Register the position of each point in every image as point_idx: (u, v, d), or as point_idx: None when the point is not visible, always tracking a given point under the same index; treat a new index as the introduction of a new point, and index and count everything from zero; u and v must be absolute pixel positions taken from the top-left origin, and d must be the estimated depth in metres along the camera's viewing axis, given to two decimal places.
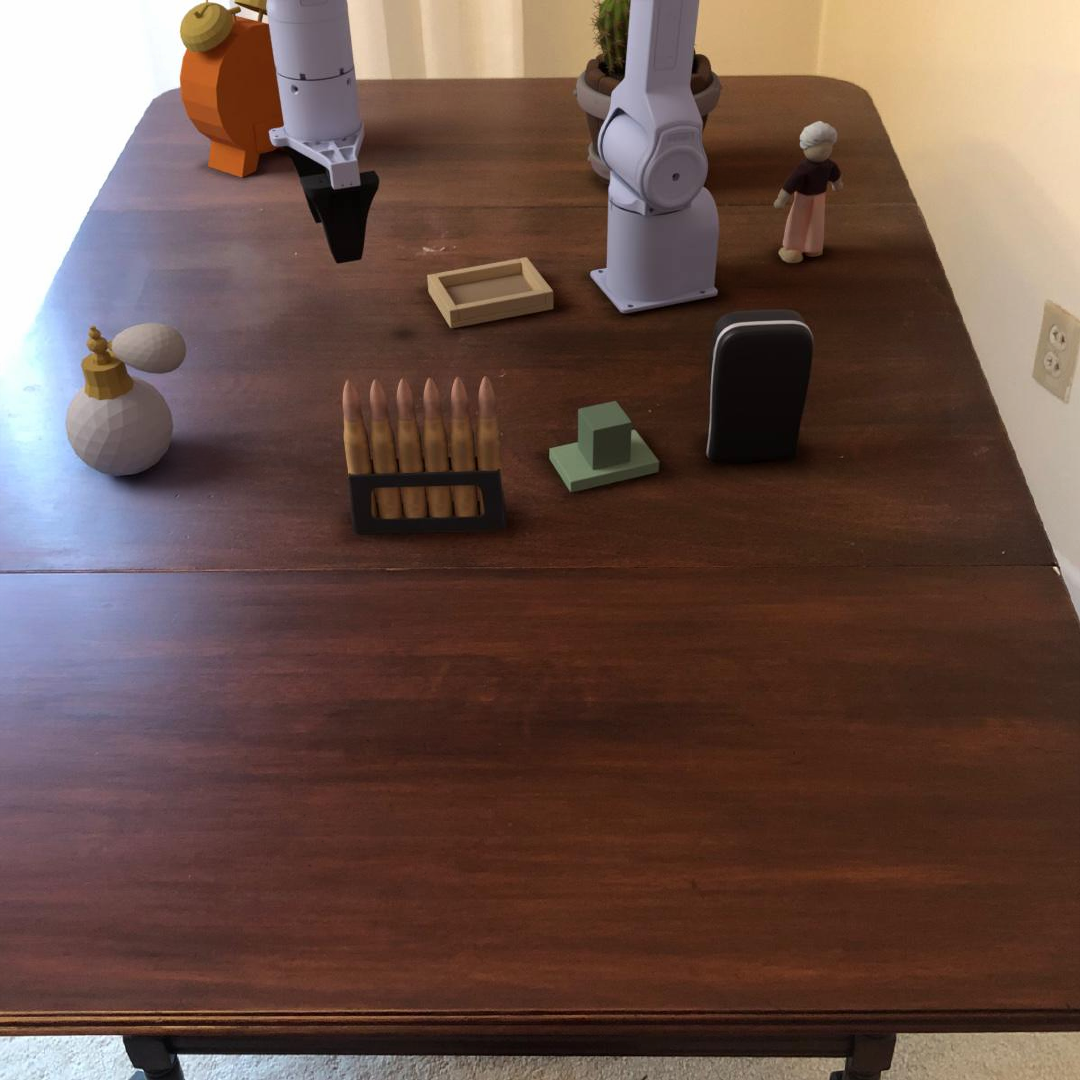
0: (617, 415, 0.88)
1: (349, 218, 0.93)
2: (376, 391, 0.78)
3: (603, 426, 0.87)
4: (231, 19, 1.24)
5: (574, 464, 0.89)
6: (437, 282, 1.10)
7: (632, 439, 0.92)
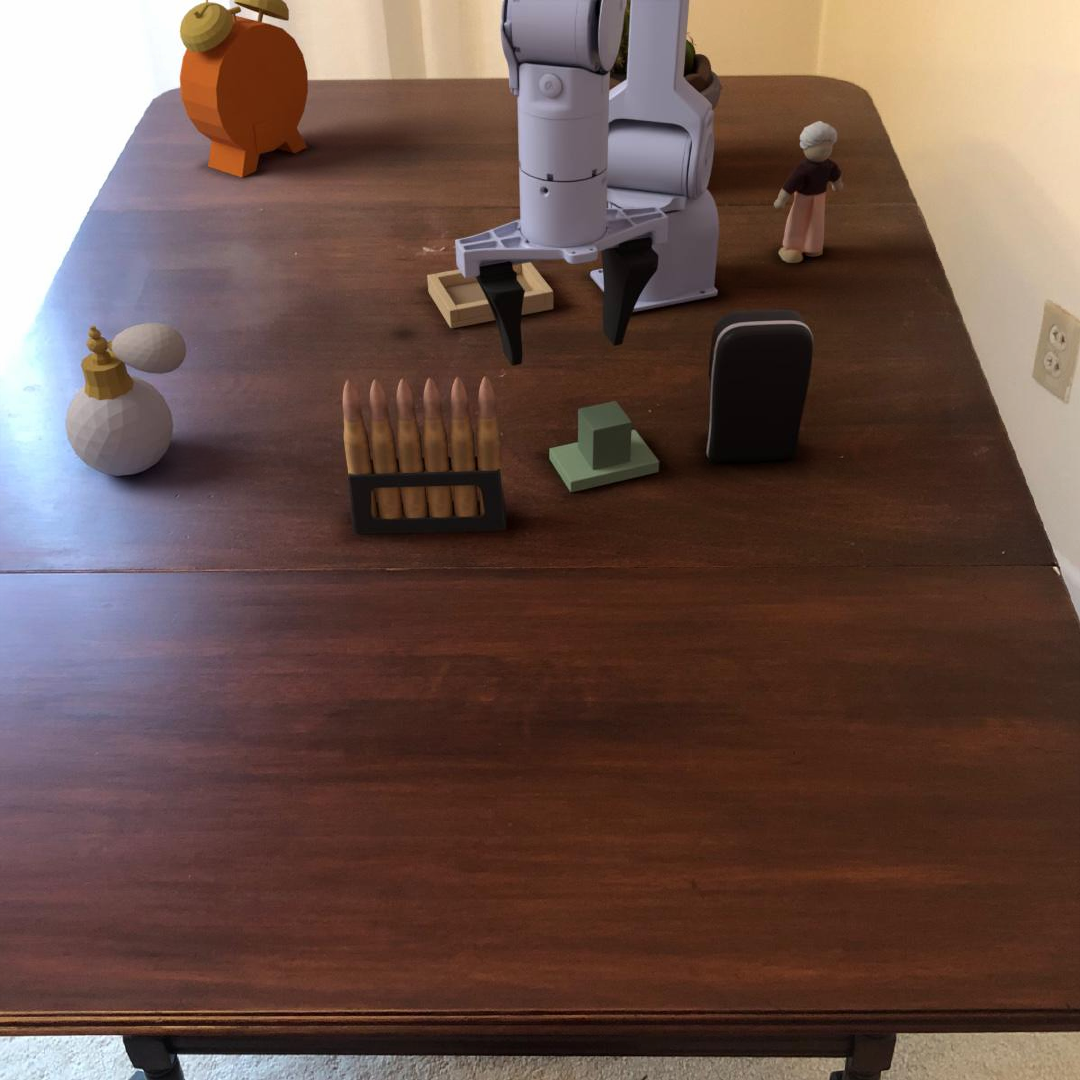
0: (617, 415, 0.88)
1: None
2: (376, 391, 0.78)
3: (603, 426, 0.87)
4: (231, 19, 1.24)
5: (574, 464, 0.89)
6: (437, 282, 1.10)
7: (632, 439, 0.92)
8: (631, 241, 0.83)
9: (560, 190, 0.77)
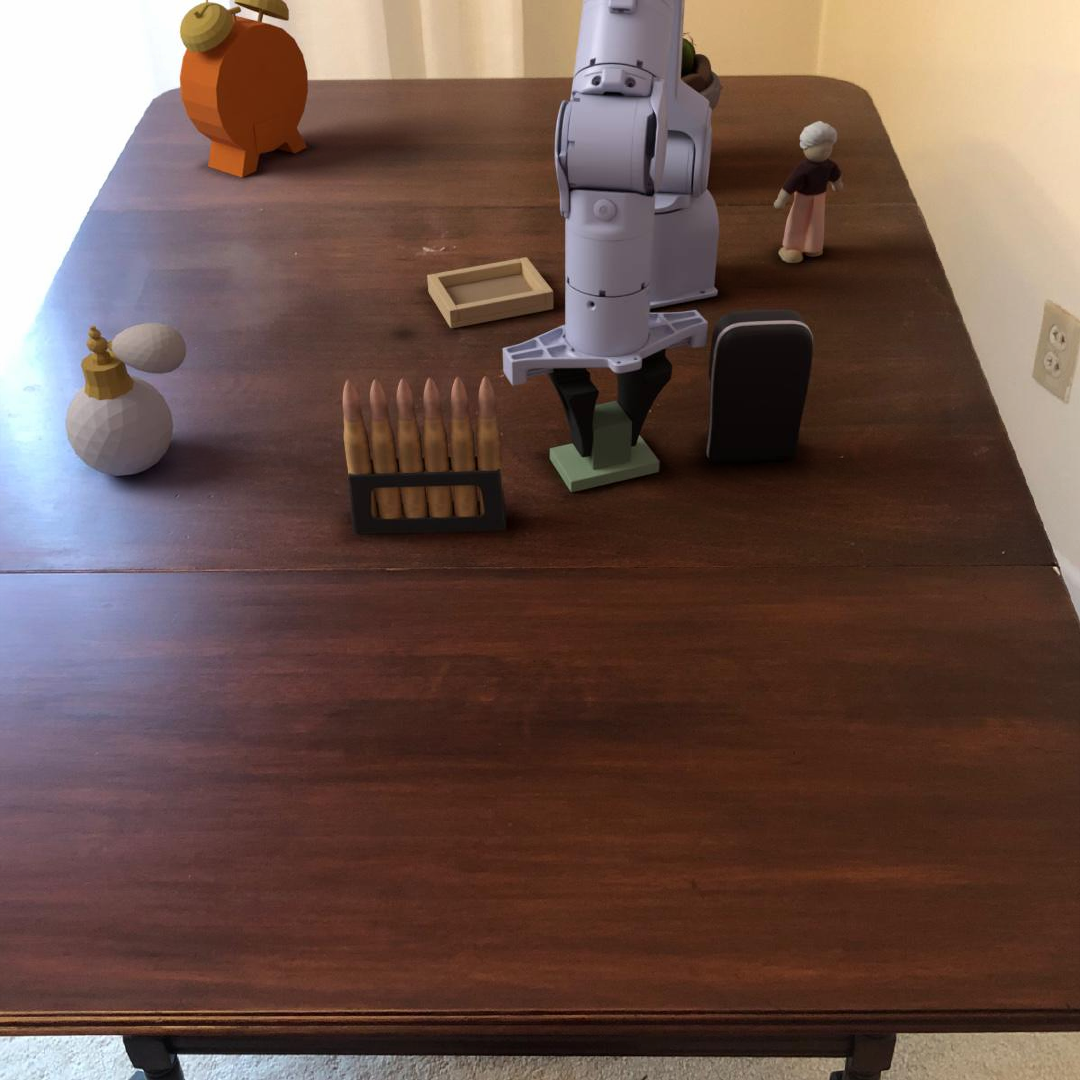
0: (617, 415, 0.88)
1: None
2: (376, 391, 0.78)
3: (603, 426, 0.87)
4: (231, 19, 1.24)
5: (574, 464, 0.89)
6: (437, 282, 1.10)
7: None
8: None
9: (606, 304, 0.79)
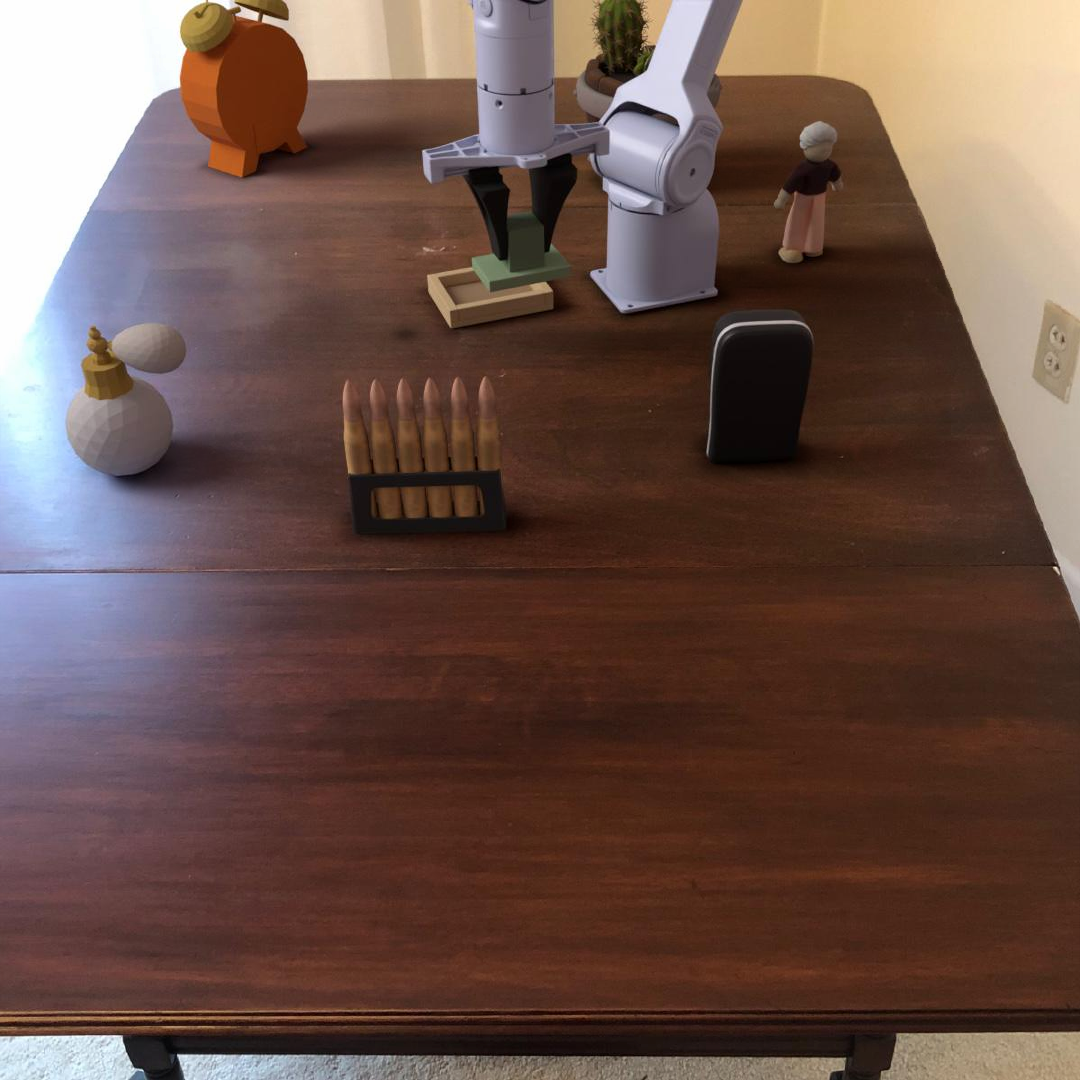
0: (531, 221, 0.97)
1: None
2: (377, 391, 0.78)
3: (517, 229, 0.96)
4: (231, 19, 1.24)
5: (493, 268, 0.98)
6: (437, 282, 1.10)
7: None
8: (553, 156, 0.94)
9: (513, 102, 0.88)
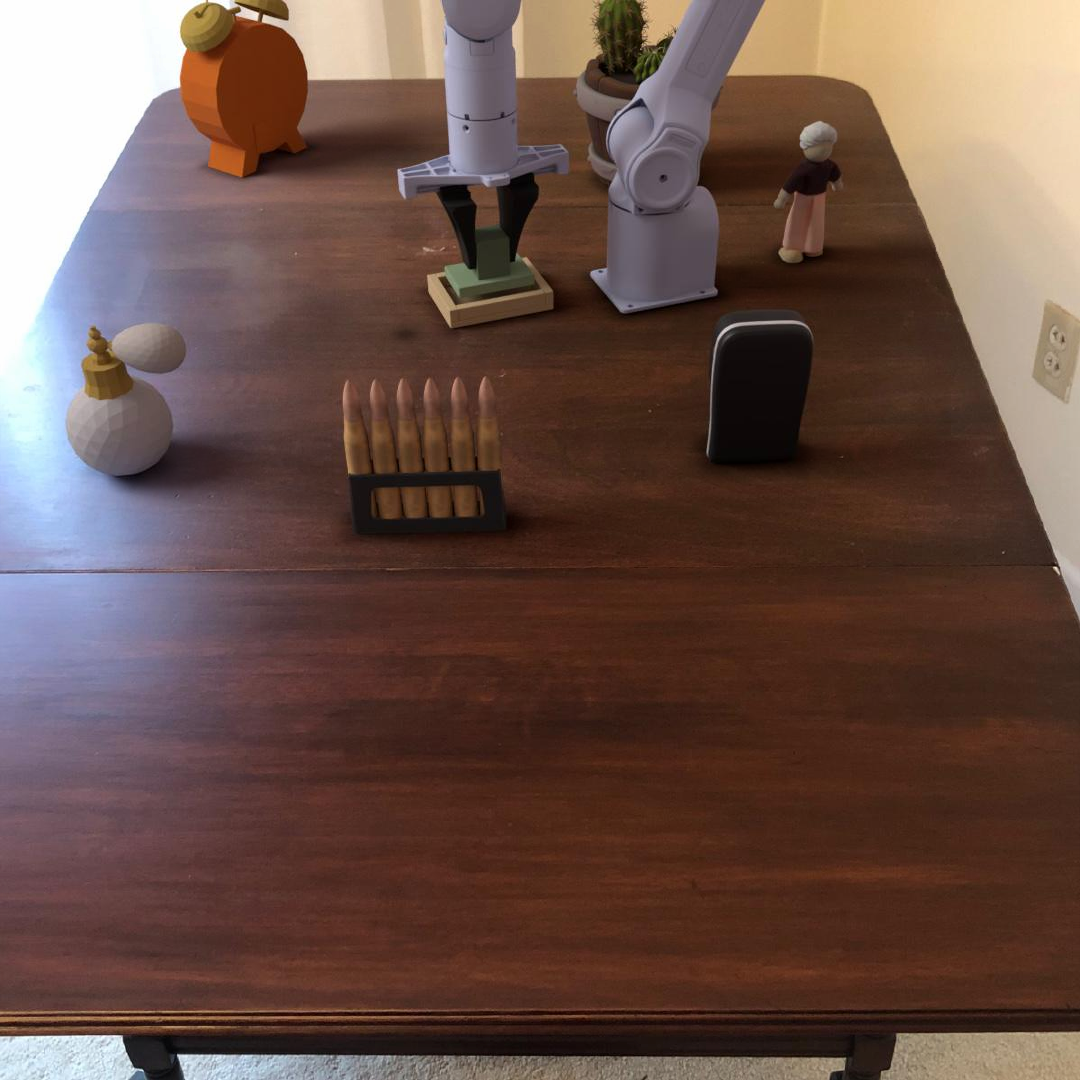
0: (498, 233, 1.06)
1: None
2: (377, 391, 0.78)
3: (484, 241, 1.05)
4: (231, 19, 1.24)
5: (463, 276, 1.08)
6: (437, 282, 1.10)
7: None
8: (517, 175, 1.03)
9: (478, 127, 0.98)
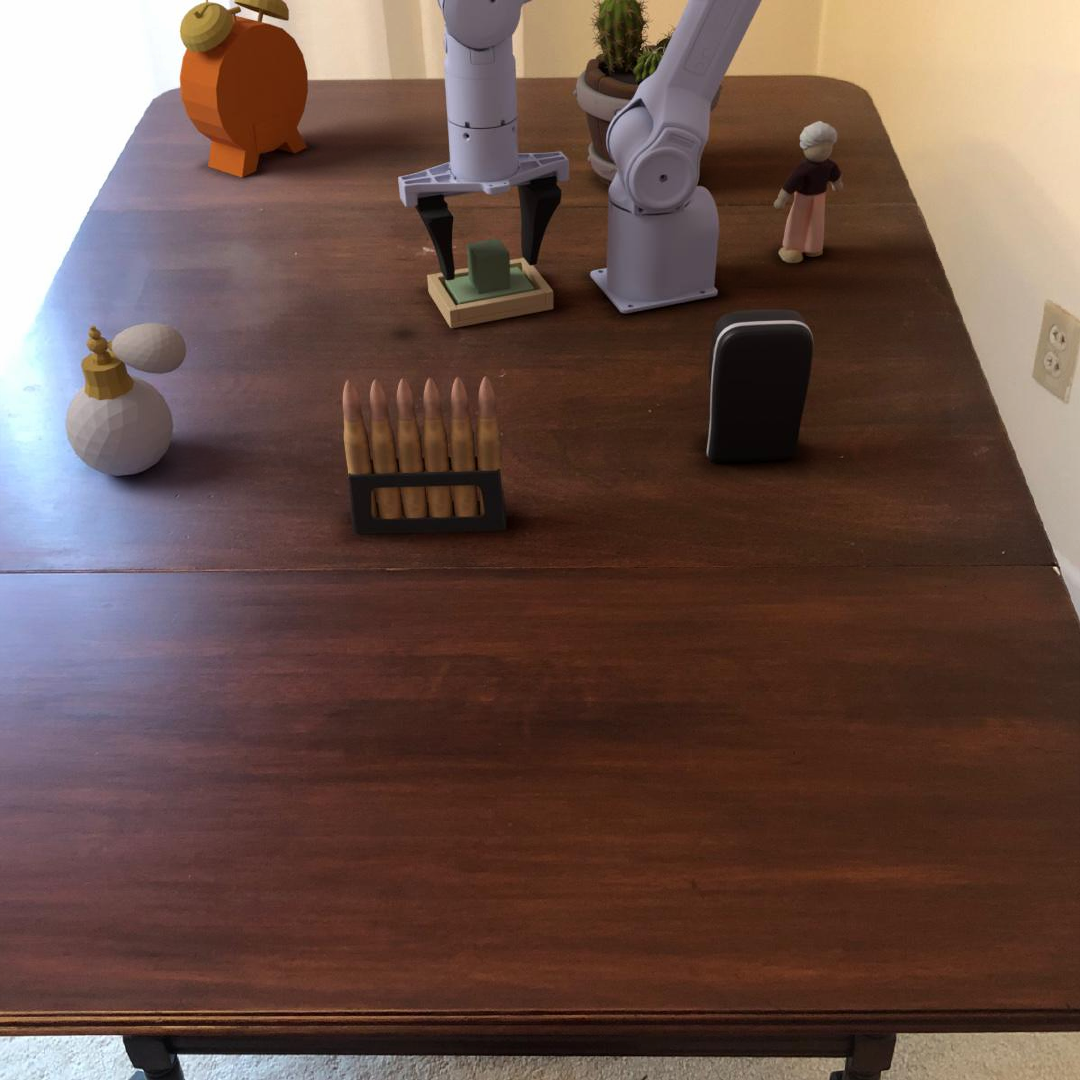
0: (498, 247, 1.07)
1: None
2: (377, 391, 0.78)
3: (485, 255, 1.06)
4: (231, 19, 1.24)
5: (464, 290, 1.09)
6: (437, 282, 1.10)
7: (515, 273, 1.11)
8: (540, 179, 1.04)
9: (478, 135, 0.98)
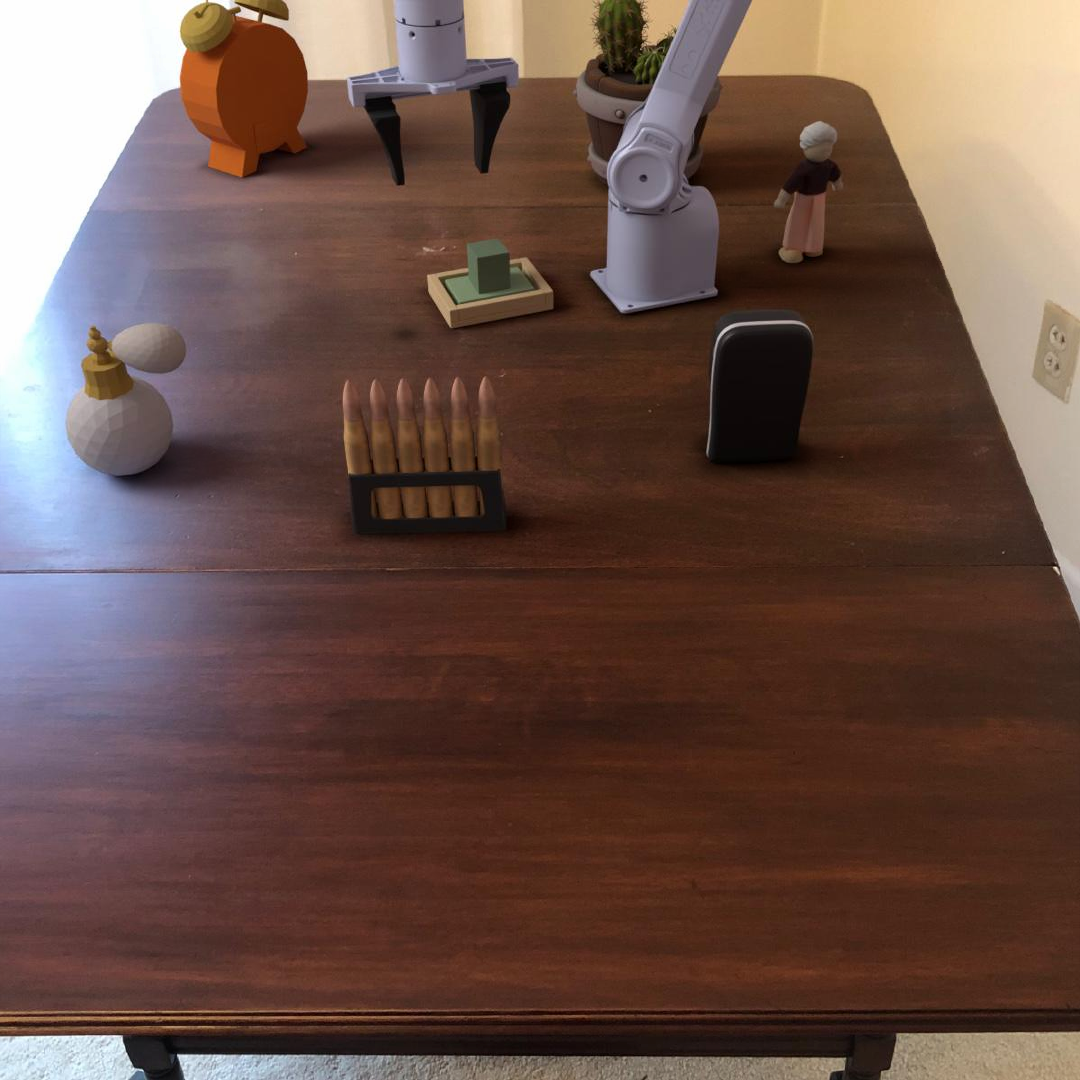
0: (498, 247, 1.07)
1: None
2: (377, 391, 0.78)
3: (485, 255, 1.06)
4: (231, 19, 1.24)
5: (464, 290, 1.09)
6: (437, 282, 1.10)
7: (515, 273, 1.11)
8: (489, 84, 1.05)
9: (424, 34, 0.99)
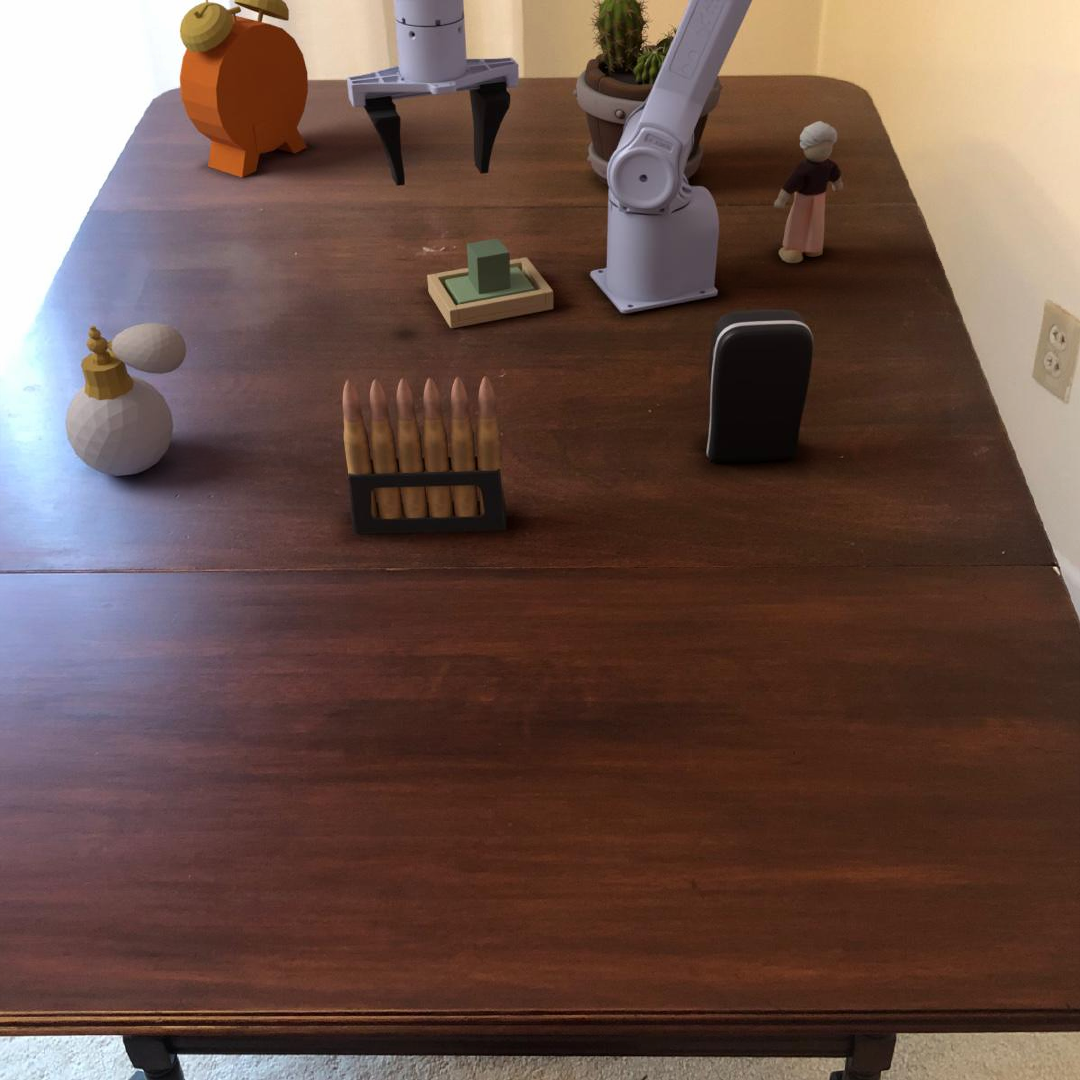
0: (498, 247, 1.07)
1: None
2: (376, 391, 0.78)
3: (485, 255, 1.06)
4: (231, 19, 1.24)
5: (464, 290, 1.09)
6: (437, 282, 1.10)
7: (515, 273, 1.11)
8: (489, 84, 1.05)
9: (424, 34, 0.99)
